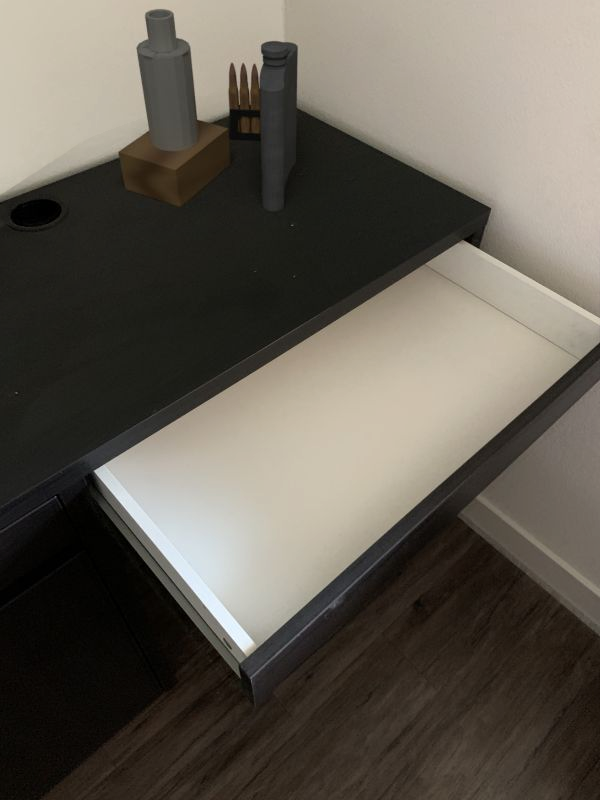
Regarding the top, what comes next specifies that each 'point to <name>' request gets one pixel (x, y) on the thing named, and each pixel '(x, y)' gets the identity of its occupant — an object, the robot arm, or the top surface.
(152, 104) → the bottle
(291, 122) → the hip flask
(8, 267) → the top surface
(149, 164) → the plinth
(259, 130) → the ammunition clip
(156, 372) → the top surface
